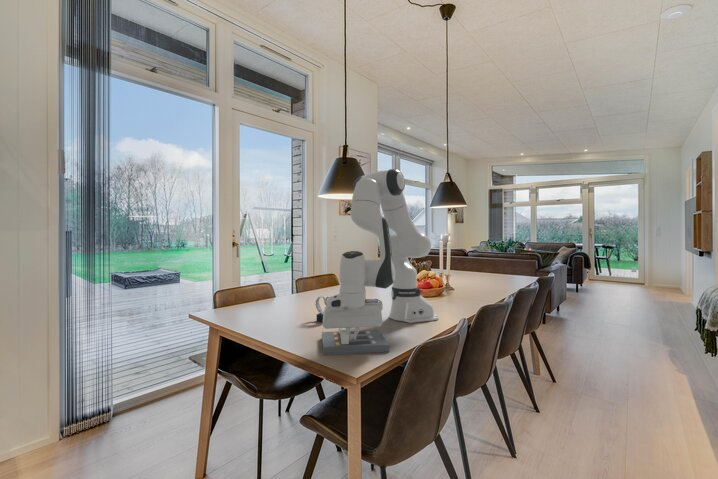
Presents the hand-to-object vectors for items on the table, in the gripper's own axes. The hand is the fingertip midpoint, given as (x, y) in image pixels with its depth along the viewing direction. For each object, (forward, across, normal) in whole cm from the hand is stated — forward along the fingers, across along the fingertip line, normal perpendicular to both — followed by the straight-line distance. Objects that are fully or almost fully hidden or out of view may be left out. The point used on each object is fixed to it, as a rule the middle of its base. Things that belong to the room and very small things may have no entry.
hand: (352, 339), depth 121 cm
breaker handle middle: (+1, +2, -6) cm, 6 cm away
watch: (+4, +8, -40) cm, 41 cm away
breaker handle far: (+1, +2, -11) cm, 11 cm away
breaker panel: (+4, -1, -6) cm, 7 cm away
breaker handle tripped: (+1, +3, 0) cm, 3 cm away
